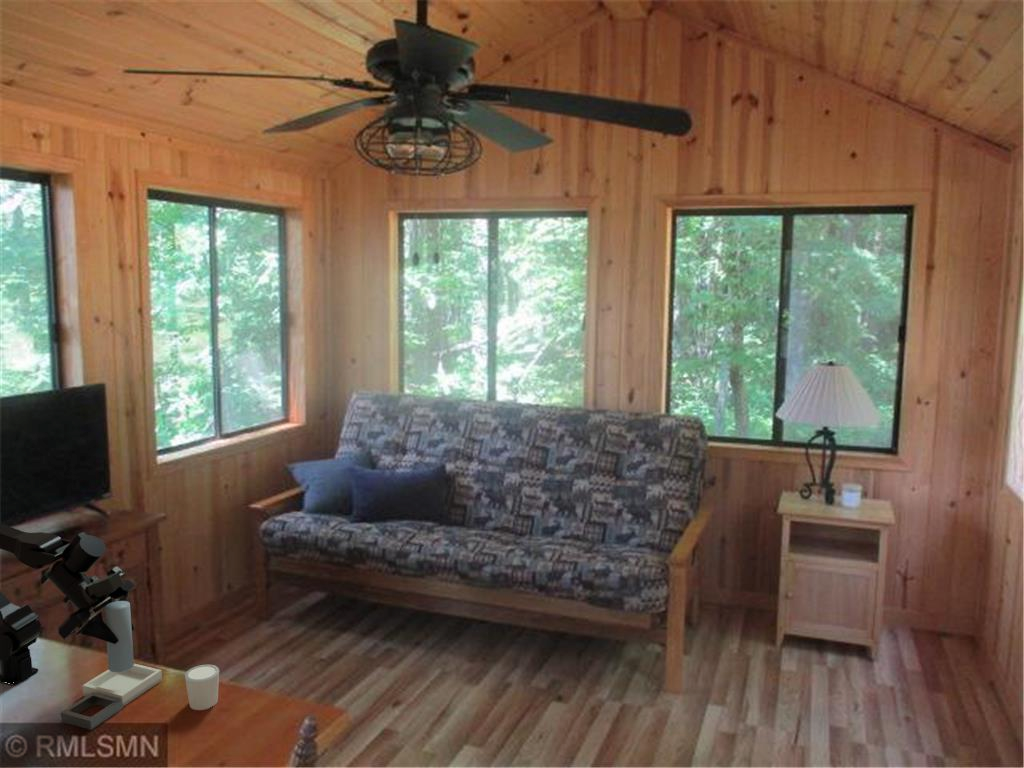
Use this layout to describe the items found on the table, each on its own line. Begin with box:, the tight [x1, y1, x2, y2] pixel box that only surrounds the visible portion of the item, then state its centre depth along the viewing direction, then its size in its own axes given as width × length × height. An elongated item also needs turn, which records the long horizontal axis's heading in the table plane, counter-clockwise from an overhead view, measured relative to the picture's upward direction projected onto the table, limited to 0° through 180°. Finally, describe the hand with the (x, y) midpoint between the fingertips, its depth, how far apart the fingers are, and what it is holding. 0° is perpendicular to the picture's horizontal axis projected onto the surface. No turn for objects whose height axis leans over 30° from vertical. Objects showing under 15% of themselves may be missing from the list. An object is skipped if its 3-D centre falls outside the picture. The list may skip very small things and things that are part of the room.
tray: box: [82, 662, 163, 707], centre depth 174 cm, size 11×11×2 cm
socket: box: [60, 692, 124, 731], centre depth 165 cm, size 8×8×2 cm
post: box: [103, 600, 135, 672], centre depth 172 cm, size 5×5×14 cm
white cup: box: [184, 664, 220, 711], centre depth 169 cm, size 7×7×7 cm
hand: (124, 636), depth 172 cm, fingers closed on post, 5 cm apart
